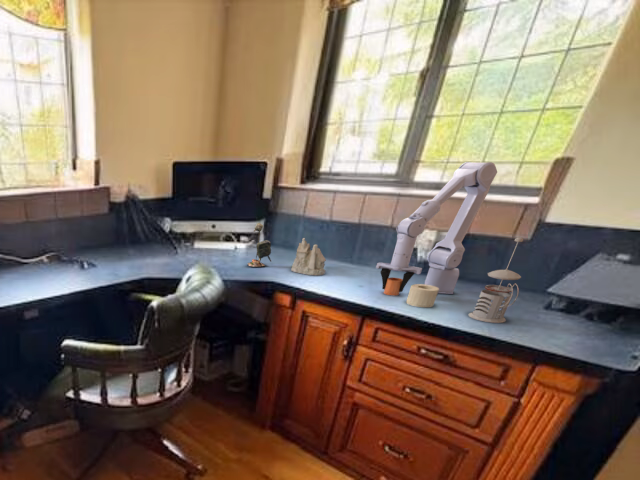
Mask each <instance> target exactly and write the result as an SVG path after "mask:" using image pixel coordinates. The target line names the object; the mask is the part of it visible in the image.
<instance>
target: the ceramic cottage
mask: <svg viewBox="0 0 640 480" xmlns="http://www.w3.org/2000/svg"><path fill="white" fill-rule="evenodd" d="M310 244H311V243H308V242H307V240H306V238H305V237H303V238H302V241H301V242H299V243H298V246H297V249H296V254H295V258H294V260H293V263H292V266H291V269H290V271H291V272H293V273H296V274H297V273H298V274H302V275H307V276H323V275H325V274H326V270H325V266H326V263H325V262H326V261H327V259H326V257H325V256H324V255H323V253H322V251H321V248H320V247H318V244H313V246H312V248H311V245H310ZM311 249H312V250H311Z"/></svg>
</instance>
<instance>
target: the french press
mask: <svg viewBox="0 0 640 480" xmlns="http://www.w3.org/2000/svg"><path fill="white" fill-rule="evenodd" d="M513 241H514V242H516V244H515V246H514V250H513V252H512V254H511V257H510V258H509V261H508V264H507V266H506V268H505V269H496V270H492V271H490V272H487V276H488V277H490V278H493V279H497V280H500V283H499V284H498V285H497V284H486V285H484V289H482V290H481V291H480V294H479V296H478V297H479V298H478V299H477V303H476V306H474V310H473V311H472V312H469V313H468V314H467V315H468V317H469V318H471V319H473V320H477V321H480V322H486V323H493V324H494V323H495V324H500V323H501V324H502V323H506V321H507V320H506V318H505V314H506V312H507V309H508V307H511V306H512V305H514V303H515V302H517V299H518V296H519V294H520V293H519V292H520V291H519V290H520V289H519V285H518V284H517V283H515V282H514V284H513V285H512V284H511V283H510V282H509V283H508V284H507V286H504V285H502V283H503V281H505V280H506V281H517V280H520V279H521V278H522V276H521V275H520V274H519V273H517V272H515V271H513V270H510V269H508V268H509V266H510V263H511V262H512V260H513V257H514V254H515V252H516V249H517V246H518V244H519V243H523V242H524V238H523V237H521V236H519V237H516V238H515V239H514V240H513ZM515 286H516V289H517V291H516V292H517V293H516V297H515V299H514V300H513V302H511V300H512V298H513V295H514V287H515ZM510 302H511V304H510Z"/></svg>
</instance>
